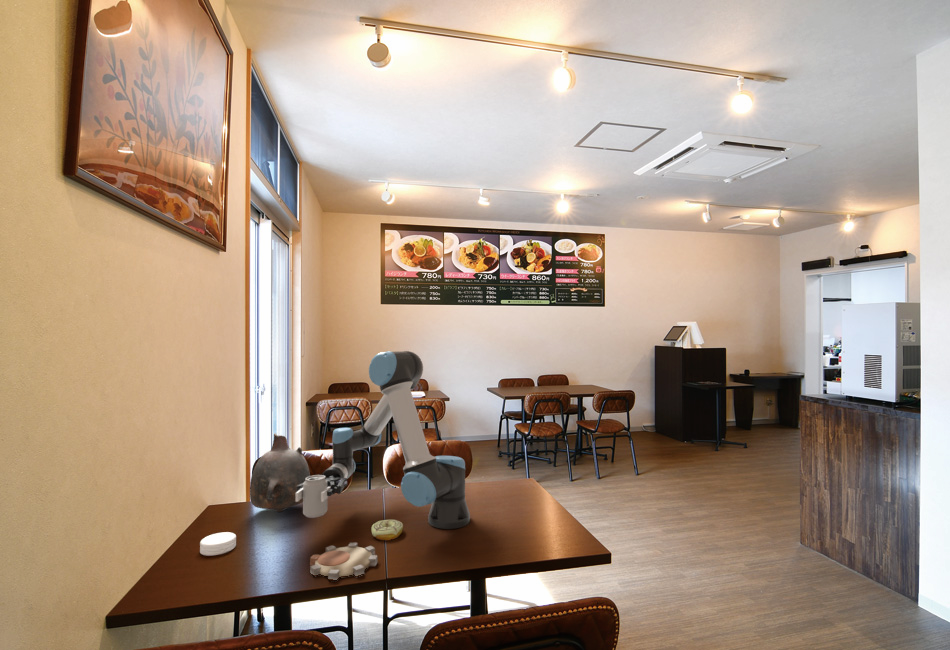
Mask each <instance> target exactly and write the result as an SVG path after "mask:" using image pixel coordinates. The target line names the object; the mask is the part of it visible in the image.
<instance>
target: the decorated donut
mask: <svg viewBox="0 0 950 650" xmlns="http://www.w3.org/2000/svg"><path fill="white" fill-rule="evenodd" d="M370 530H371V535H372V536H373V537H374V538H376V539H377V540H380V541H387V540H388V541H391V539H392V540H394V539H397V538H398V537H399V536H400V535H401V534H402V533H403V530H404V524H403V523H402V522H401V521H399V520H397V519H383V520H378V521H376V522H375V523H373V524H372V525H371V528H370Z"/></svg>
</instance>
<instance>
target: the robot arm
mask: <svg viewBox="0 0 950 650" xmlns="http://www.w3.org/2000/svg"><path fill="white" fill-rule="evenodd" d="M370 361H371V362H370V363H369V366H368V375H369V379H370V381H371V382H372V383H373V384H374V385H376V386H379V389H380V393H381V394H382V397H381V398H380V400H379V402H378V403H377V404H376V406H375V407H374V409H373V410H372V412H371V414H370V415H369V417H368V418H367V420H366V421H365V422H364V424H363V426H362V427H361V429H359V430H353V428H351V427H339V428H335V429H334V430H333V432H332V440H331V442H332V465H331V466H330V467H328V468H327V469H325V470H324V471H323V472H322V474H321V475H324V476H325V479H326V480H327V488H326V489H325V490H324V491H323V492H321V502H323V501H324V500H326V499H327V500H328V498H329V497H330V496H331V497H332V495H335V493H336V494H337V495H340V494H341V493H342V492H343V490H344V488H345V487H348V479H349V478H350V477H352V476H353V474H354V473H355V470H356V462H355V460H354V458H353V457H354V452H355V451H357V450H362V449H366V448H372V447H374V446H376V445H379V444H380V442H381V441H382V432H383V430H384V429H385V428H386V426H387V424H388V423H389V422H390V420H391V418H393V423H394V426H395V429H396V433H397V436H398V440H399V443H400V446H401V450H402V454H403V457H404V461H405V465H404V466H403V468H402V470H403V473H404V474H403V475H404V476H403V477H401V478H402V479H401V482H400V489H401V493H402V495H403V497H404V498H405V500H406V501H407V503H410V504H411V505H412V506H413V507H414V506H415V507H425V506H428V505H431V506H430V509H429V513H428V516H427V519H428V524H429V525H430V526H431V527H434V528H437V529H442V530H452V529H455V530H456V529H460V528H463V527H465V526H467V525H469V524H470V523H471V514H470V510H469V507H468V505H467V504H468V503H467V502H466V470H467V469H466V462H465V461H466V460H464V459H463V458H462V457H459V456H454V455H436V456H433V455H432V454H431V453H430V451H429V448H428V443H427V440H426V436H425V433H424V430H423V427H422V424H421V421H420V420H421V419H420V418H419V414H418V410H417V408H416V404H415V400H414V398H413V394H412V391H413V390H414V389H415V388H416V387H417V385H418V383H419V382H420V380H421V378H422V375H423V372H424V365H423V361H422V360H421V358H420V356H419V355H418V354H417V353H415V352H413V351H409V350H404V351H391V350H388V351H381V352H379V353H377V354H376V355H374V356H373V357H372V359H371V360H370ZM303 483H304V482H303ZM303 483H301V484H300V485H298V486H297V492H296V502H298V501H299V500H301V499H302V498H303Z"/></svg>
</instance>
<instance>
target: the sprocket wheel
mask: <svg viewBox="0 0 950 650" xmlns="http://www.w3.org/2000/svg"><path fill="white" fill-rule="evenodd" d="M358 545H359V543H358V542H349V544H348V545H347V546H342V547H336V546H335V545H332V544H331V545H329V546H325V551H324V552H323V553H321V554H312V555H311V556H310V557H309V569H310V571H309V572H310V573H311V574H313V575H318V574H321V575H324V576H328V577H327V578H328V579H333V580H337V579H338V578H339V577H341V576H348V577H350V576H349V575H352V576H354V575H355V576H358V575H361V574H364V575H365V571H366V570H367V569H369V567H376V566H377V564H378V555H377V554H376V548H375V547H374V546H372V545H369V546H366V547H360V546H358ZM366 568H367V569H366ZM365 569H366V570H365ZM310 573H309V574H310ZM311 574H310V575H311ZM353 574H354V575H353ZM321 575H320V576H321ZM318 576H319V575H318ZM324 576H323V577H324ZM355 576H354V577H355ZM361 576H362V575H361ZM341 578H342V577H341ZM339 579H340V578H339ZM339 579H338V580H339ZM338 580H337V581H338Z"/></svg>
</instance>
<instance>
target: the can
mask: <svg viewBox="0 0 950 650" xmlns="http://www.w3.org/2000/svg"><path fill="white" fill-rule="evenodd" d="M305 480H306V481H305V482H304V483H303V502H302V514H303V515H304V516H305V517H306V518H313V519H315V518H318V517H319V518H320V517H322V516H324V515H326V513H327V511H328V498H327V499H326V500H324V501H323V502H321V492H323V491H324V490H325V489H326V488H327V480H326V479H325V476H324V475H322V474H314V475H310V476H309V477H307V478H305Z"/></svg>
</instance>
